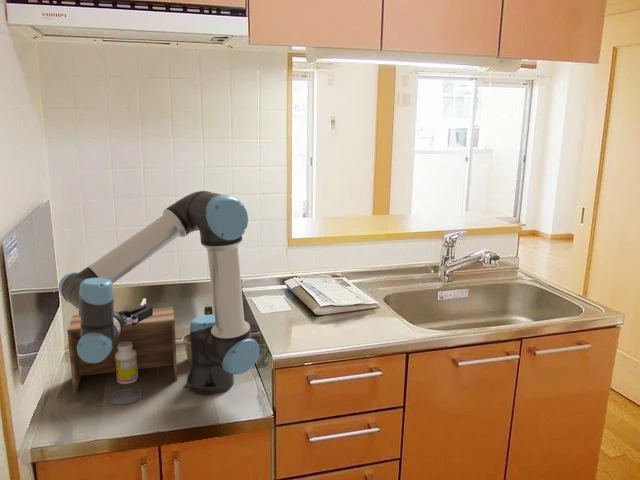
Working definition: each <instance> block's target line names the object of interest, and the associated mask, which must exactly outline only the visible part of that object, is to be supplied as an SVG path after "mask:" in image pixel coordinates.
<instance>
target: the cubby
mask: <svg viewBox="0 0 640 480" xmlns="http://www.w3.org/2000/svg"><path fill="white" fill-rule="evenodd" d="M123 315H124V314H123ZM175 324H176V322H175V313H174V307H173V306H169V307H158V308H156V307H155V308H153V315H152V316H150V317H148V318H146V319H144V320H142V321H140V322H138V323H137V325H132V323H131V322H127V323H126V324H124V326H123V328H122V330H121V332H120V334H119V336H118V338H117V340H116V341H115V343H114V346H113V348H112V351H111V352H110V353H109V355H108V356H107V357H106V358H105V359H104V360H103V361H101V362H98V363H88V362H85V361H83V360H82V359H81V358H80V357H79V355H78V353H77V345H78V342H79V340H80V338H81V317H80V316H79V314H77V315H73V316H72V317H71V320H70V322H69V325H68V326H67V327H68V328H67V341H68V350H69V351H68V352H69V360H70V371H71V379H72V380H71V381H72V391H73V392H72V393H73V394H76V393H77V391H78V389H79V384H80V381H81V378H82V376H91V375H99V374H108V373H116V363H115V354H116V352H117V351H118V349H117V345H118V344H119V343H121V342H125V341H130V342H132V344H133V348H132V349H134V350H135V351H136V355H137V369H138V370H142V369H150V368H158V367H159V368H160V367H166V366H173V374H174V375H173V376H174V381H178V367H177V366H178V364H177V362H178V361H177V345H176V325H175Z"/></svg>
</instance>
